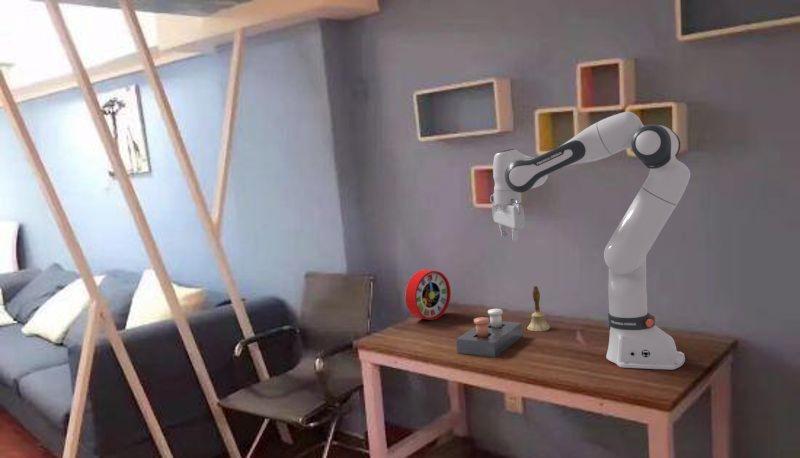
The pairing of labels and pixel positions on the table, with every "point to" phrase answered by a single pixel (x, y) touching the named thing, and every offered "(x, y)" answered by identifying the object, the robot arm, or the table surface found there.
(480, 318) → the peach mushroom-shaped knob
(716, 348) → the table surface
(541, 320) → the hand bell
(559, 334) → the table surface
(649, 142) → the robot arm
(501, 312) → the white plunger
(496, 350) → the button console
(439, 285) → the toy clock
